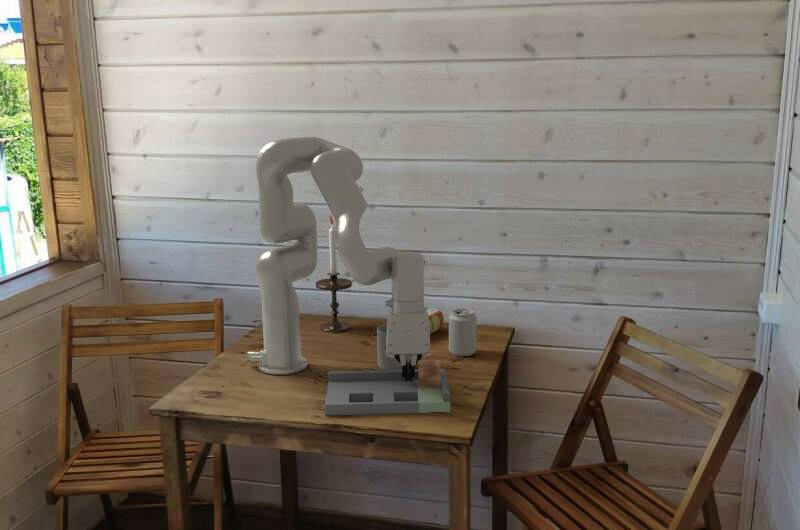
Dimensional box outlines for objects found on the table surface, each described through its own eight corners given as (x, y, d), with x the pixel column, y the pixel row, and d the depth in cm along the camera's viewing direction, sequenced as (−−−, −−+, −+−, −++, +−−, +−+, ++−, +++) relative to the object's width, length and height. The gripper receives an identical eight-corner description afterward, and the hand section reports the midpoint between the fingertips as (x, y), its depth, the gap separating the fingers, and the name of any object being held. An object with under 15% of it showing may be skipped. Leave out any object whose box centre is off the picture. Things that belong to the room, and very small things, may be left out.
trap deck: (325, 415, 182) (324, 396, 181) (329, 388, 197) (328, 371, 196) (450, 412, 182) (450, 393, 181) (444, 386, 198) (444, 368, 197)
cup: (406, 371, 209) (405, 333, 207) (374, 369, 210) (374, 332, 208) (412, 360, 217) (411, 324, 215) (382, 358, 218) (381, 322, 216)
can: (459, 347, 227) (459, 305, 224) (481, 352, 222) (482, 310, 220) (443, 354, 221) (443, 311, 219) (465, 359, 217) (466, 316, 214)
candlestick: (332, 336, 238) (328, 218, 230) (310, 328, 246) (305, 214, 238) (360, 328, 245) (357, 214, 237) (338, 321, 253) (334, 210, 245)
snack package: (400, 350, 226) (400, 326, 224) (382, 345, 230) (381, 322, 228) (444, 331, 242) (444, 309, 241) (426, 327, 246) (426, 306, 245)
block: (419, 388, 190) (419, 367, 189) (418, 380, 195) (417, 360, 194) (440, 387, 190) (440, 367, 189) (438, 380, 195) (438, 360, 194)
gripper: (375, 310, 184) (376, 386, 189) (441, 309, 185) (440, 385, 189) (375, 301, 192) (376, 374, 196) (439, 300, 192) (438, 373, 196)
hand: (408, 379), depth 192 cm, fingers closed
